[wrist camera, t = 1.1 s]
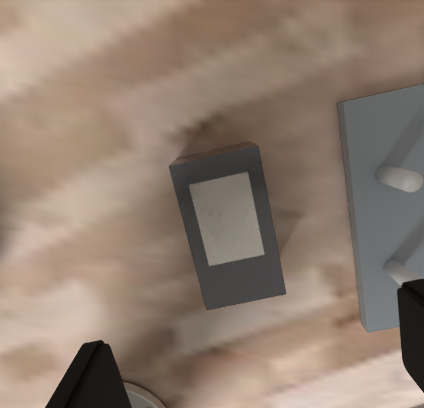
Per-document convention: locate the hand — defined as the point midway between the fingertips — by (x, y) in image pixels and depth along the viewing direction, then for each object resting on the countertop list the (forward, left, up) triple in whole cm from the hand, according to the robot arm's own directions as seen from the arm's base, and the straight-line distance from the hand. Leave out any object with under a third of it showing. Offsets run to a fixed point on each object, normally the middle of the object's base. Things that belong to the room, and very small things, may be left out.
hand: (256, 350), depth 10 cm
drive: (0, 0, -17) cm, 17 cm away
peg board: (-3, -17, -17) cm, 24 cm away
